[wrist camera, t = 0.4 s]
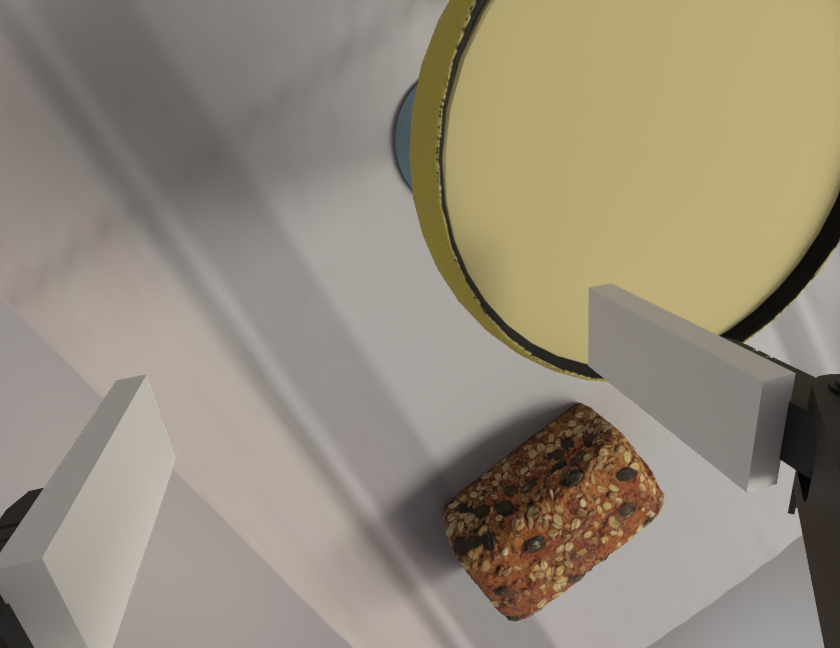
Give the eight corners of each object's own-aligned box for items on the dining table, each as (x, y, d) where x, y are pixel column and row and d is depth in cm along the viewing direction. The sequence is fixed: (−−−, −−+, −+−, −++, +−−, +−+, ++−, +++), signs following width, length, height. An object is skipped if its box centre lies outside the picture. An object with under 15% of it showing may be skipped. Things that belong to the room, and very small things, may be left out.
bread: (485, 561, 57) (522, 644, 48) (430, 503, 52) (460, 582, 43) (624, 458, 56) (689, 521, 47) (580, 391, 52) (643, 447, 43)
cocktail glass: (375, -30, 36) (528, -315, 13) (599, 52, 41) (988, -47, 18) (324, 230, 41) (369, 355, 18) (529, 273, 46) (765, 413, 23)
